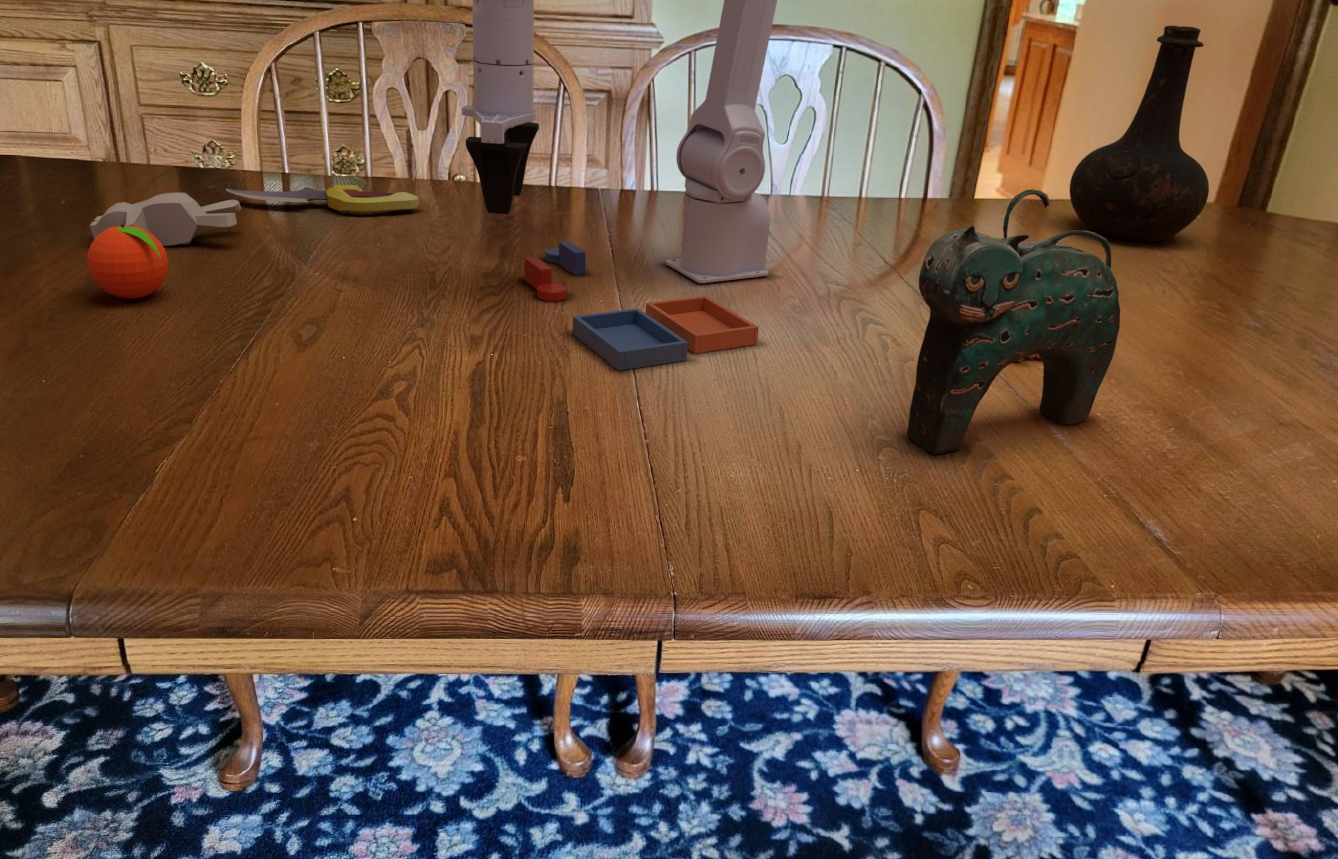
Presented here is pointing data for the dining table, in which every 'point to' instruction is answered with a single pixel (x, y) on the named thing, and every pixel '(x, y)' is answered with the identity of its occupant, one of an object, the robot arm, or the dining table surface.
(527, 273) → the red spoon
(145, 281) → the clementine
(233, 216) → the bunny figurine
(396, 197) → the knife
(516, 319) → the dining table surface
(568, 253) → the blue stepped block
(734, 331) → the red tray
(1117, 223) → the glass bottle
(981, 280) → the ceramic cat
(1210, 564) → the dining table surface
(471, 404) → the dining table surface
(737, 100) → the robot arm
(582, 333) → the blue tray
